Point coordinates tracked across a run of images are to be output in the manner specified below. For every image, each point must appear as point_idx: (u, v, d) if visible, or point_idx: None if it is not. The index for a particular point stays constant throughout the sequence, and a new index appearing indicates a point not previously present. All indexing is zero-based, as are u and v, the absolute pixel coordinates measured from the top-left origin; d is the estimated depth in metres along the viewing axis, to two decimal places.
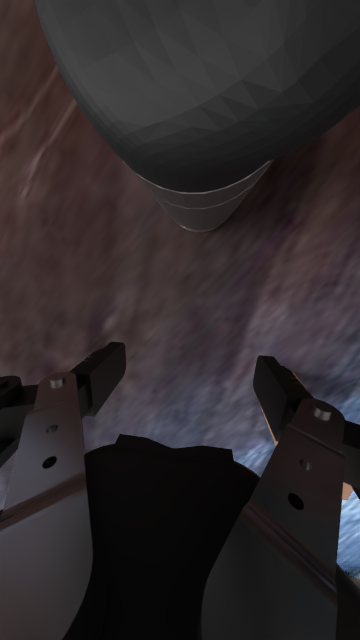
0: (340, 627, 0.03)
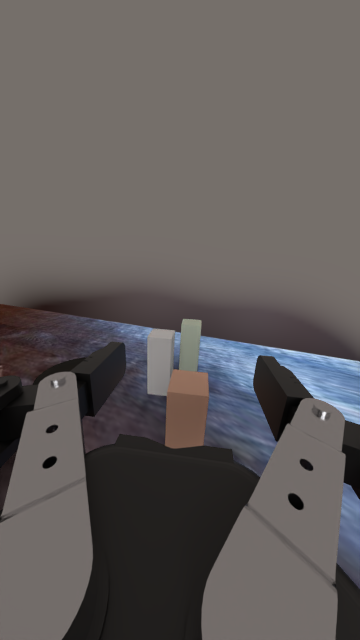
0: (340, 627, 0.03)
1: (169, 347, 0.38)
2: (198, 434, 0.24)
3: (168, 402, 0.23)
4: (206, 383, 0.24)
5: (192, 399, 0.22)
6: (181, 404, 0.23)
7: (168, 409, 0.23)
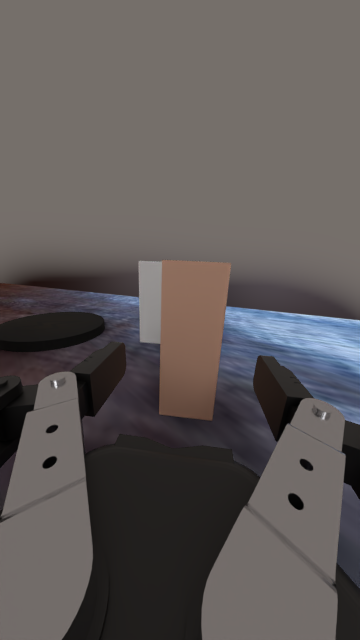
0: (340, 627, 0.03)
1: None
2: (211, 338, 0.15)
3: (164, 281, 0.14)
4: None
5: (202, 271, 0.14)
6: (184, 284, 0.14)
7: (164, 295, 0.14)
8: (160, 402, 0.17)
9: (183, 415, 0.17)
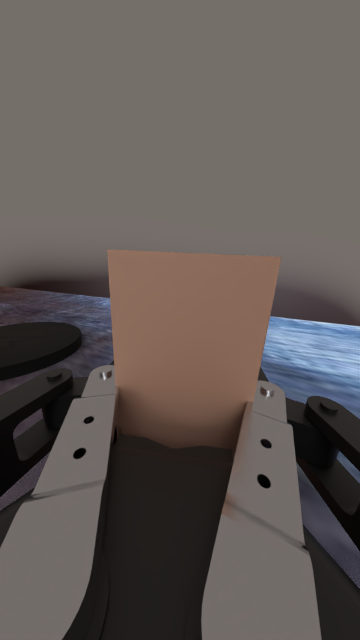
0: (340, 627, 0.03)
1: None
2: (226, 423, 0.07)
3: (117, 301, 0.06)
4: None
5: (207, 277, 0.05)
6: (164, 308, 0.06)
7: (119, 331, 0.06)
8: None
9: None
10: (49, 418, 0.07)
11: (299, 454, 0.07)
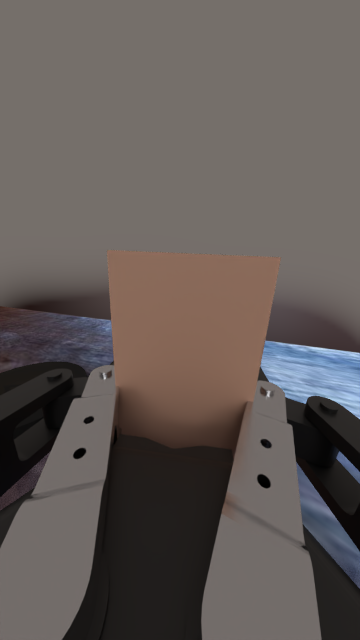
0: (340, 627, 0.03)
1: None
2: (226, 424, 0.07)
3: (116, 301, 0.06)
4: None
5: (207, 278, 0.05)
6: (164, 308, 0.06)
7: (119, 332, 0.06)
8: None
9: None
10: (49, 418, 0.07)
11: (298, 454, 0.07)
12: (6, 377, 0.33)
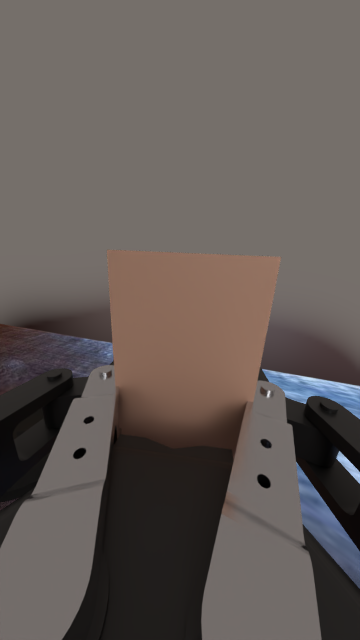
0: (340, 627, 0.03)
1: None
2: (226, 424, 0.07)
3: (116, 301, 0.06)
4: None
5: (207, 277, 0.05)
6: (164, 308, 0.06)
7: (119, 332, 0.06)
8: None
9: None
10: (49, 418, 0.07)
11: (299, 454, 0.07)
12: None
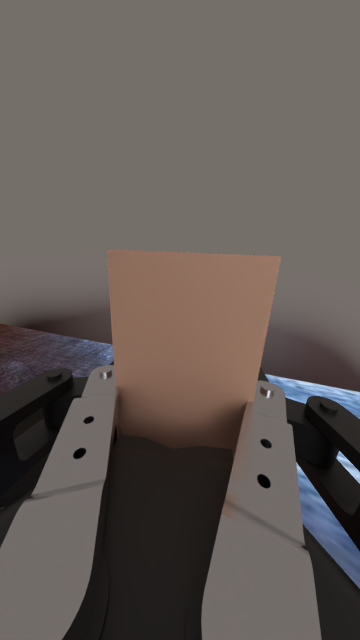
0: (340, 627, 0.03)
1: None
2: (226, 424, 0.07)
3: (116, 300, 0.06)
4: None
5: (207, 277, 0.05)
6: (163, 307, 0.06)
7: (119, 331, 0.06)
8: None
9: None
10: (49, 418, 0.07)
11: (299, 454, 0.07)
12: (18, 425, 0.36)
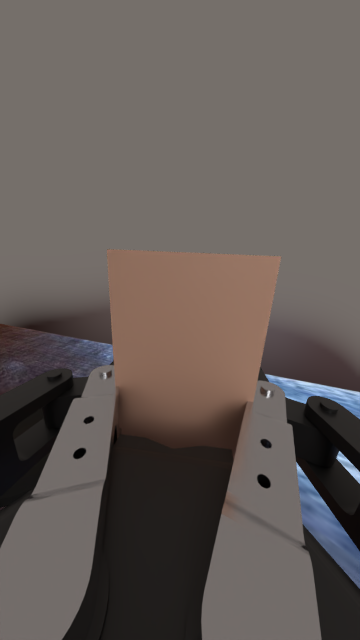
0: (340, 627, 0.03)
1: None
2: (226, 424, 0.07)
3: (116, 300, 0.06)
4: None
5: (207, 277, 0.05)
6: (163, 307, 0.06)
7: (119, 331, 0.06)
8: None
9: None
10: (49, 418, 0.07)
11: (299, 454, 0.07)
12: (18, 425, 0.36)
